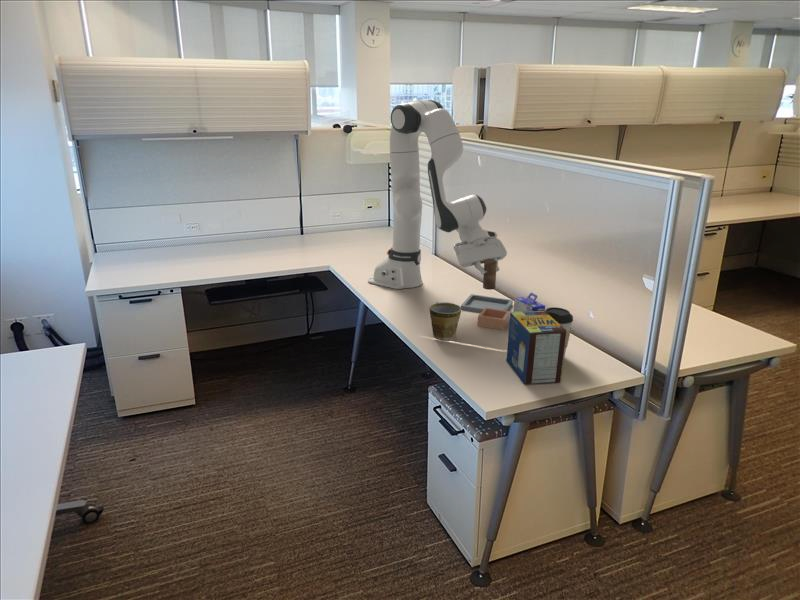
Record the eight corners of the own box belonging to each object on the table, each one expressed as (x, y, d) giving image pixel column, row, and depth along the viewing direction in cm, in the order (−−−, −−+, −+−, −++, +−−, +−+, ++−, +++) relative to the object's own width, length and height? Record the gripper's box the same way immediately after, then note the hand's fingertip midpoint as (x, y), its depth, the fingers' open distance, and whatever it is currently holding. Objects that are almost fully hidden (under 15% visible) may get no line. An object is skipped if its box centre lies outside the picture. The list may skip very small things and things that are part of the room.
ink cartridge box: (542, 341, 181) (547, 298, 176) (527, 344, 179) (532, 300, 174) (524, 330, 189) (528, 288, 184) (510, 332, 187) (513, 290, 182)
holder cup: (477, 327, 191) (478, 316, 190) (483, 318, 199) (484, 307, 197) (503, 331, 188) (504, 320, 186) (509, 322, 196) (510, 311, 194)
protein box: (538, 358, 169) (544, 309, 164) (560, 383, 155) (567, 330, 149) (505, 360, 167) (509, 311, 162) (524, 385, 153) (529, 332, 148)
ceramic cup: (464, 341, 180) (466, 311, 176) (434, 344, 177) (435, 314, 173) (449, 326, 191) (450, 298, 188) (421, 329, 189) (422, 300, 185)
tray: (460, 310, 205) (460, 305, 204) (470, 299, 217) (471, 294, 217) (504, 317, 200) (504, 312, 199) (512, 305, 212) (512, 300, 211)
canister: (481, 288, 205) (482, 261, 201) (484, 285, 208) (486, 258, 205) (493, 290, 203) (495, 263, 199) (496, 286, 207) (498, 260, 203)
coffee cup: (545, 348, 176) (550, 302, 171) (572, 356, 171) (579, 309, 166) (531, 357, 169) (536, 310, 164) (560, 366, 164) (566, 318, 159)
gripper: (456, 239, 200) (472, 272, 195) (499, 231, 210) (516, 263, 206) (447, 248, 205) (464, 281, 200) (490, 241, 215) (507, 272, 211)
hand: (491, 272), depth 203 cm, fingers closed on canister, 4 cm apart
